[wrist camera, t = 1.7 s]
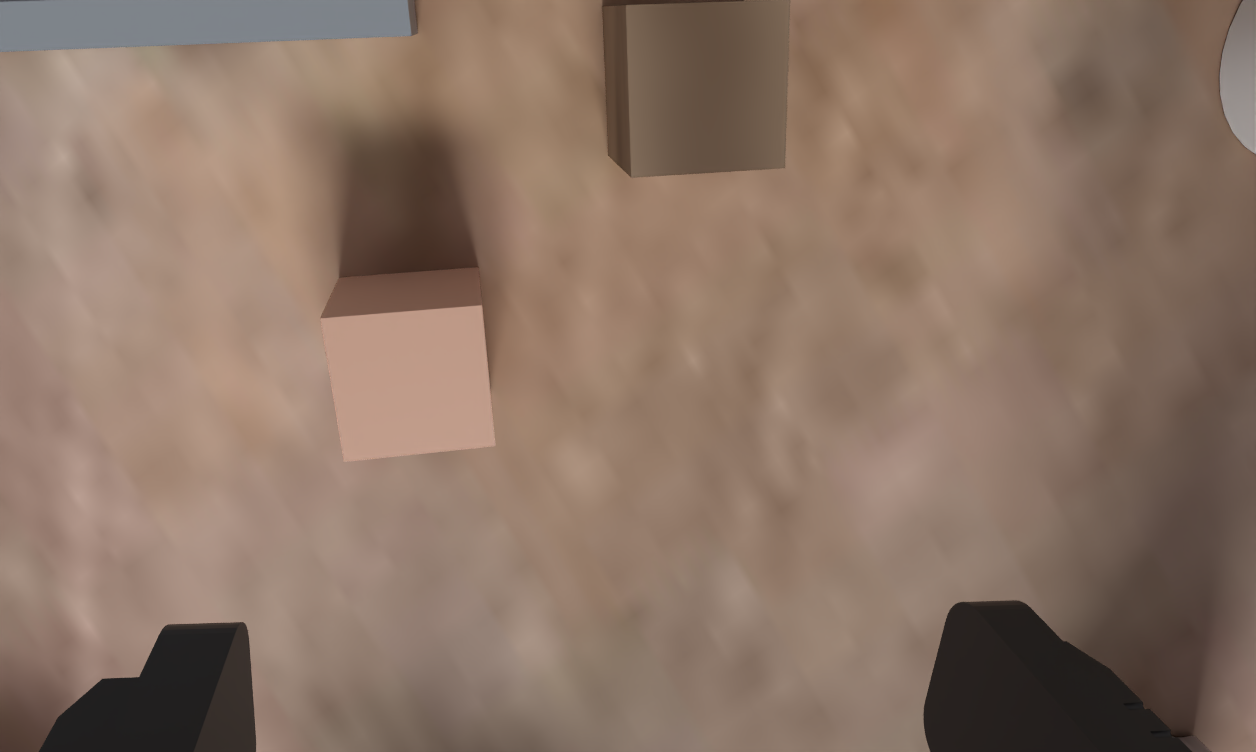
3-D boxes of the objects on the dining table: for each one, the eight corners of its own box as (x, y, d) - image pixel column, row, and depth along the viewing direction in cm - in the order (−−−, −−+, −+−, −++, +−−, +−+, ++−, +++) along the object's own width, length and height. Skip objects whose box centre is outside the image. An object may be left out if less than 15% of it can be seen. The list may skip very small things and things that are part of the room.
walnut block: (743, 1, 26) (790, -1, 22) (741, 147, 27) (785, 167, 23) (601, 6, 25) (625, 4, 21) (608, 155, 27) (631, 177, 23)
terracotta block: (478, 266, 27) (482, 305, 23) (490, 391, 29) (495, 446, 25) (338, 276, 26) (320, 318, 23) (358, 403, 28) (343, 461, 24)
